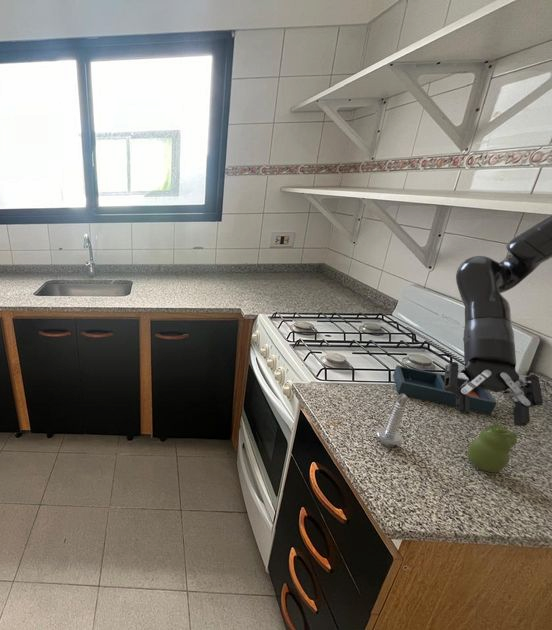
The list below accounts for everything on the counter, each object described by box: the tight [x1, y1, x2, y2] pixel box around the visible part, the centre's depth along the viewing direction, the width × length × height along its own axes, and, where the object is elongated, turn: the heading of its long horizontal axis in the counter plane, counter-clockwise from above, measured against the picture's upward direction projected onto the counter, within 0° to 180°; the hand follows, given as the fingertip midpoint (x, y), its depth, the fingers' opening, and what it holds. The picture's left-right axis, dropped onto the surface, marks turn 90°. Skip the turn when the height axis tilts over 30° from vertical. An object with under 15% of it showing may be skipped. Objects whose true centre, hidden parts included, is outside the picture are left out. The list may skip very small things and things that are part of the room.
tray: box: [392, 364, 498, 416], centre depth 90 cm, size 18×10×4 cm, turn 62°
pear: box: [467, 423, 518, 473], centre depth 67 cm, size 6×5×10 cm
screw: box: [374, 394, 408, 448], centre depth 73 cm, size 13×5×5 cm
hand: (492, 419), depth 68 cm, fingers open, 8 cm apart
